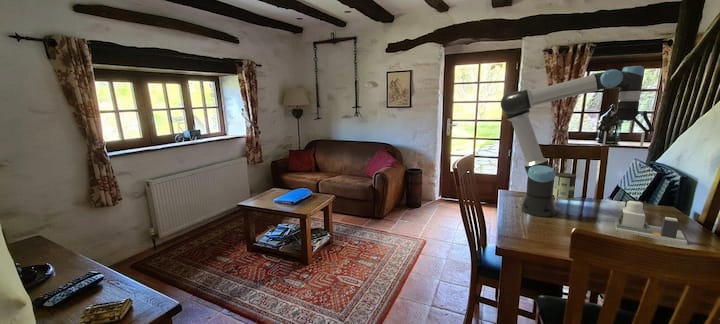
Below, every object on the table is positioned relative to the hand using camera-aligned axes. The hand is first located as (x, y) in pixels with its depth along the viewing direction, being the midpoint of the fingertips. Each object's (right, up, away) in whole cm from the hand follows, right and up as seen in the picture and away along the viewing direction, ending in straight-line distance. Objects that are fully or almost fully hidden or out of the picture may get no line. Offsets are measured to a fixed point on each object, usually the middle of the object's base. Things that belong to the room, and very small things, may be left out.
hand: (621, 145), depth 142 cm
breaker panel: (-2, -38, -15) cm, 41 cm away
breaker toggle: (-1, -38, -22) cm, 44 cm away
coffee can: (-5, -29, +34) cm, 45 cm away
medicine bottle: (-7, -37, -12) cm, 39 cm away
